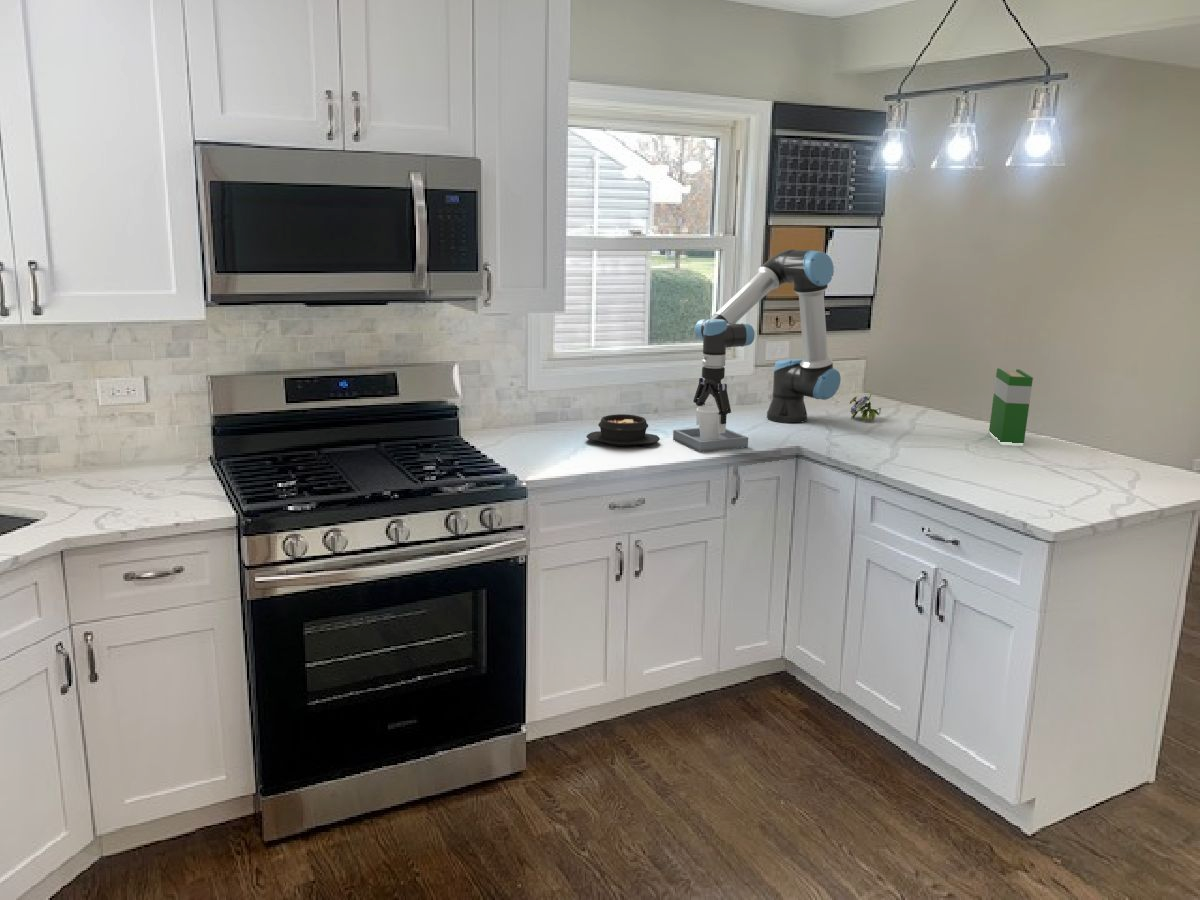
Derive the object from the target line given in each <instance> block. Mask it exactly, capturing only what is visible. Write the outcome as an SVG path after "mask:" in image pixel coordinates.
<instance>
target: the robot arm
mask: <svg viewBox="0 0 1200 900" xmlns="http://www.w3.org/2000/svg"><path fill="white" fill-rule="evenodd" d="M834 270H835V268H834V263H833V260H832V259H831V257H830V255H828V254H827V253H826V252H824V251H818V250H816V249H812V250H810V249H809V250H807V249H786V250H783V251H780V252H779V253H777V254H776V255H774V256H772V257H771V258H769V259H768V260H766V262H764V263H763V264H762V265H761V266H760V267H759V268H757V272H756V273H757V274H755V276H753V277H752V278H751V279H750V280H749V281H748V282H746V284H745V285H744V286H743V287H741V288H740V289H739V290H738V291H737V292H736V293H734V295H733V296H732V297H731V298H730V299H729V300H727V302H726V303H725V304H723V305H722V306H721V307H720V308H719V309H718V310H717V311H716V312H715V313H714V314H713V315H712V316H710V317H709V318H708V319H707V318H704V319H703V318H702V319H699V320H698V321H697V322H696V323H695V326H694V335H695V337H696V338H697V339H698V340H700V341H701V342H702V341H703V342H702V364H701V365H702V367H701V377H699V378H698V379H699V380H698V385H697V388H696V391H695V395H694V397H693V403H694V404H696V405H695V406H696V409H697V408H698V407H703V406H706V401H707V400H708V398H709V396H710V395H711V396H712V397H713V398H714V400H715V403H716V407H718V410H719V413H718V426H717V433H718V434H720V433H725V430H726V429H727V428H726V427H727V426H726V425H727V415H728V414H731V413H732V409H731V404H730V401H729V400H730V399H729V395H728V385H727V383H722V380H723V379H725V373H726V372H725V370H726V369H725V366H726V353H727V348H736V347H741V348H742V347H747V346H750V345H752V343H753V342H754V340H755V334H756V332H755V329H754V327H753V326H752V325H751V324H750V323H737V322H739V321H740V320H742V318H743V317H744V316H745V315H747V313H748V312H749V311H750V310H751V309H753V307H755V306H756V305H757V304H758V303H759V302H760V301H761V300H762V299H763V298H764V297H765V296H766V295H767V294H768V293H770V292H771V291H772V290H776V289H778V288H779V287H780V286H781V285H784V284H793V292H794V293H795V294H796V295H798V303H799V304H798V305H799V315H800V328H801V341H802V342H801V343H802V352H803V356H802V357H803V358H788V359H787V358H786V359H779V360H777V361H776V362H775V364H774V370H773V384H772V385H773V386H772V388H773V389H772V399H771V402H770V404H769V407H768V410H767V412H766V419H767V418H768V420H769V419H770V420H769V421H772V420H773V421H772V422H776V421H778V422H777V423H783V422H800V423H803V422H802V421H805V420H807V421H808V412H807V407H806V404H805V401H804V398H805V397H808V398H812V399H816V400H824V401H826V400H829V399H831V398H833V397H834V396H835V394H836V393H837V391H839V388H840V385H841V374H840V372H839V371H838V370H837V369H835V368H834V364H833V359H831V357H829V355H828V353H829V352H828V339H827V323H826V322H827V321H826V310H825V309H826V308H825V297H824V296H825V295H824V293H825V291H826V290H827V289H828V287H829V286H828V285H829V284H830V283H831V281H832V279H833V277H834V272H835V271H834ZM805 422H806V421H805ZM696 425H697V426H699V420H698V413H697V412H696Z"/></svg>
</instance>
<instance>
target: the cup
mask: <svg viewBox="0 0 1200 900" xmlns="http://www.w3.org/2000/svg"><path fill="white" fill-rule="evenodd" d="M702 406H703V407H698V408H697V407H696V414H697V413H698V420H699V425H698V426H699V427H698V428H700V437H701V440H702V441H708V440H718V439H719V438H720V434H718V433H717V426H718V413H719V410H718V407H717V406H715V405H714V406H711V405H702Z"/></svg>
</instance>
